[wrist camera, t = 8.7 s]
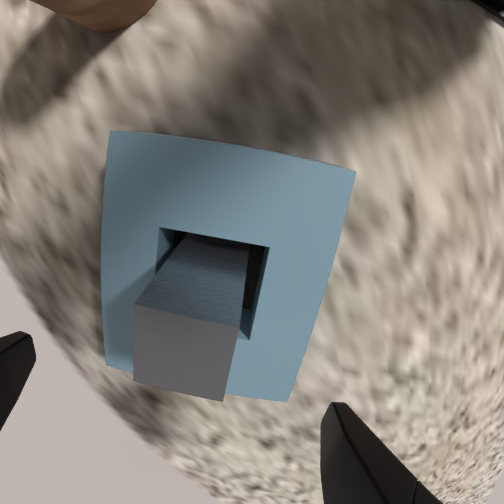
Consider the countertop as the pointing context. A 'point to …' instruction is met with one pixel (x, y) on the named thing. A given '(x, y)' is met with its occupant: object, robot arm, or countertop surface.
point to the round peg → (100, 12)
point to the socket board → (227, 227)
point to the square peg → (191, 317)
